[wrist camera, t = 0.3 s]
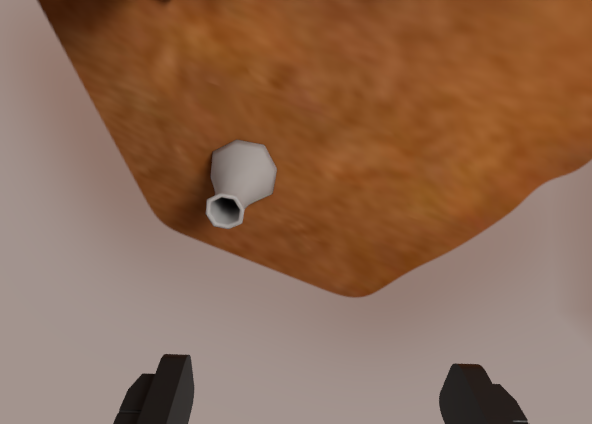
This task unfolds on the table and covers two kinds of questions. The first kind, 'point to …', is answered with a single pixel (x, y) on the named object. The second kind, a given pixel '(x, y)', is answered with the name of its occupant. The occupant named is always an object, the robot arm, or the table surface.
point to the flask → (238, 181)
